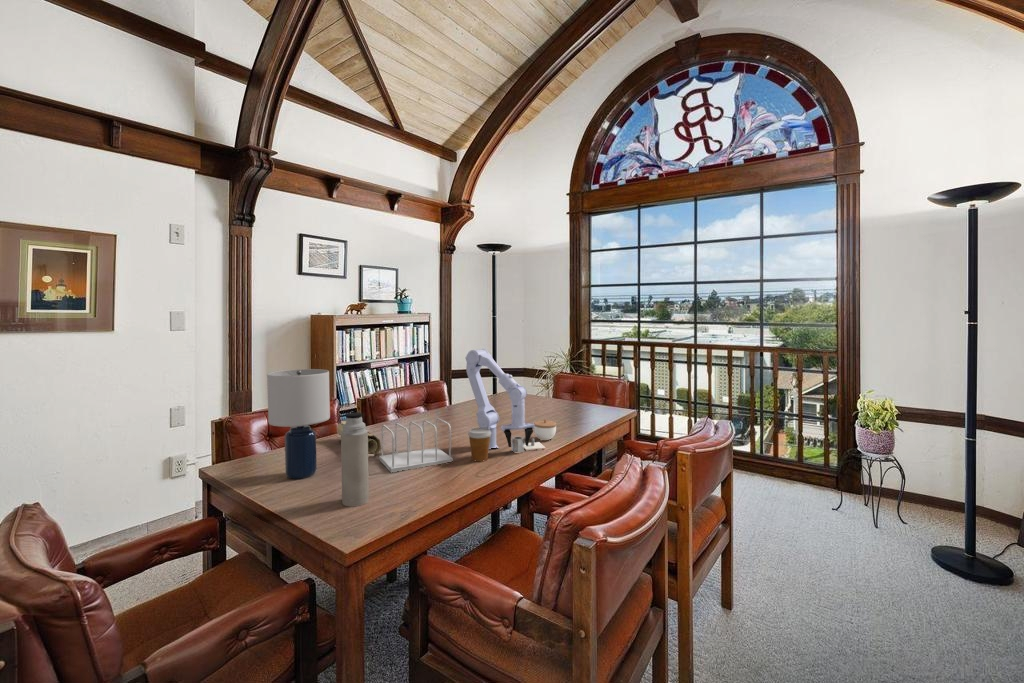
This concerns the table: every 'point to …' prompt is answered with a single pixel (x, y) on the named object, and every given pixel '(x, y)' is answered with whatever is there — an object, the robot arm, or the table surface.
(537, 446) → the white peg stand
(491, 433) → the robot arm
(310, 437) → the lamp
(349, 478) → the thermos bottle
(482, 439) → the disposable coffee cup
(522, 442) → the collar
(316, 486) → the table surface
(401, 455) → the file sorter
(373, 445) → the scroll
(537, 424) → the lidded jar
